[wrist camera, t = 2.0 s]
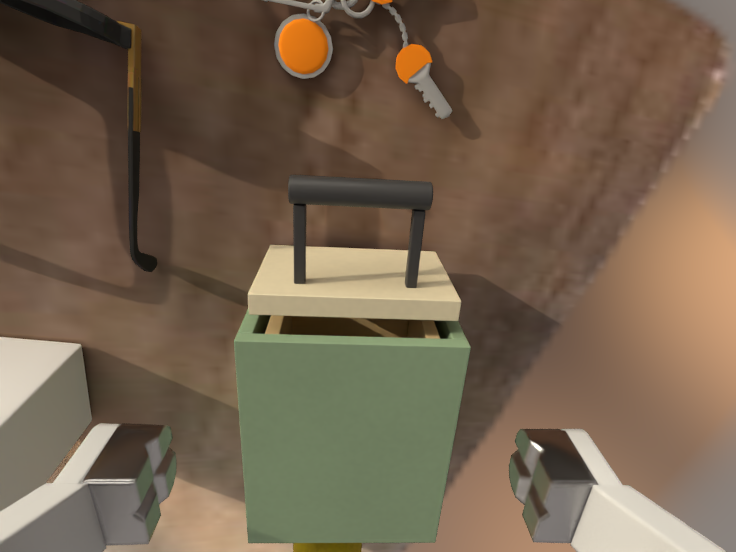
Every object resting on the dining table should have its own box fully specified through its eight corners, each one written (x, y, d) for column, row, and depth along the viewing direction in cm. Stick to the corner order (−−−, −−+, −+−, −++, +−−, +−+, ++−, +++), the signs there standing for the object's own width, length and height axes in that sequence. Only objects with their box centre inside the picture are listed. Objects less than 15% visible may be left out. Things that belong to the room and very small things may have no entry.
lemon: (360, 474, 39) (363, 566, 31) (360, 518, 41) (363, 613, 33) (296, 476, 38) (285, 569, 31) (300, 520, 41) (289, 617, 33)
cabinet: (264, 269, 30) (233, 341, 22) (437, 276, 31) (471, 347, 23) (270, 438, 36) (248, 543, 28) (415, 439, 37) (435, 542, 29)
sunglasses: (-69, 229, 28) (-150, 258, 24) (-123, -54, 22) (-244, -88, 18) (157, 266, 30) (123, 300, 25) (163, 13, 24) (120, -3, 19)
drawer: (267, 154, 26) (241, 179, 20) (446, 164, 27) (479, 191, 20) (275, 414, 34) (258, 494, 28) (413, 416, 35) (430, 495, 28)
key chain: (236, 56, 25) (232, 55, 24) (264, -99, 22) (261, -106, 21) (444, 127, 27) (447, 129, 26) (494, -6, 24) (498, -9, 23)
